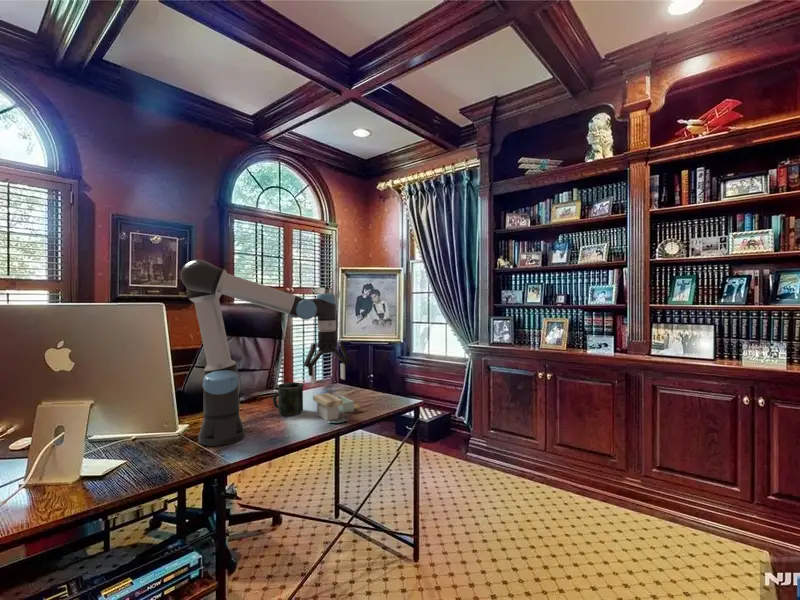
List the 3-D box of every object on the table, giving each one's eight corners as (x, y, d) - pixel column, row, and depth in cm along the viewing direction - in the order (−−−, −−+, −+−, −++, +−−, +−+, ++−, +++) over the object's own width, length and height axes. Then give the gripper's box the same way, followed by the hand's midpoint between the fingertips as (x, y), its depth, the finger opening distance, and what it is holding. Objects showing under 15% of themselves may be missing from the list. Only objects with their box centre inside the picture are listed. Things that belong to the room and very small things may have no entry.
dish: (343, 413, 178) (343, 403, 178) (331, 407, 188) (331, 397, 188) (353, 411, 181) (353, 401, 181) (341, 405, 191) (341, 395, 191)
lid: (326, 407, 166) (326, 402, 166) (313, 400, 177) (313, 395, 177) (342, 404, 170) (342, 400, 170) (328, 397, 181) (328, 393, 181)
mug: (309, 411, 181) (309, 384, 181) (282, 420, 170) (282, 390, 169) (293, 407, 188) (292, 381, 188) (265, 415, 176) (265, 387, 176)
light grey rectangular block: (327, 420, 168) (327, 406, 168) (317, 414, 176) (317, 400, 176) (338, 418, 171) (338, 404, 171) (328, 412, 179) (328, 399, 179)
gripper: (301, 333, 163) (303, 387, 163) (357, 329, 177) (358, 378, 177) (294, 332, 169) (296, 383, 169) (349, 328, 183) (350, 375, 183)
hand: (328, 381), depth 173 cm, fingers open, 13 cm apart
